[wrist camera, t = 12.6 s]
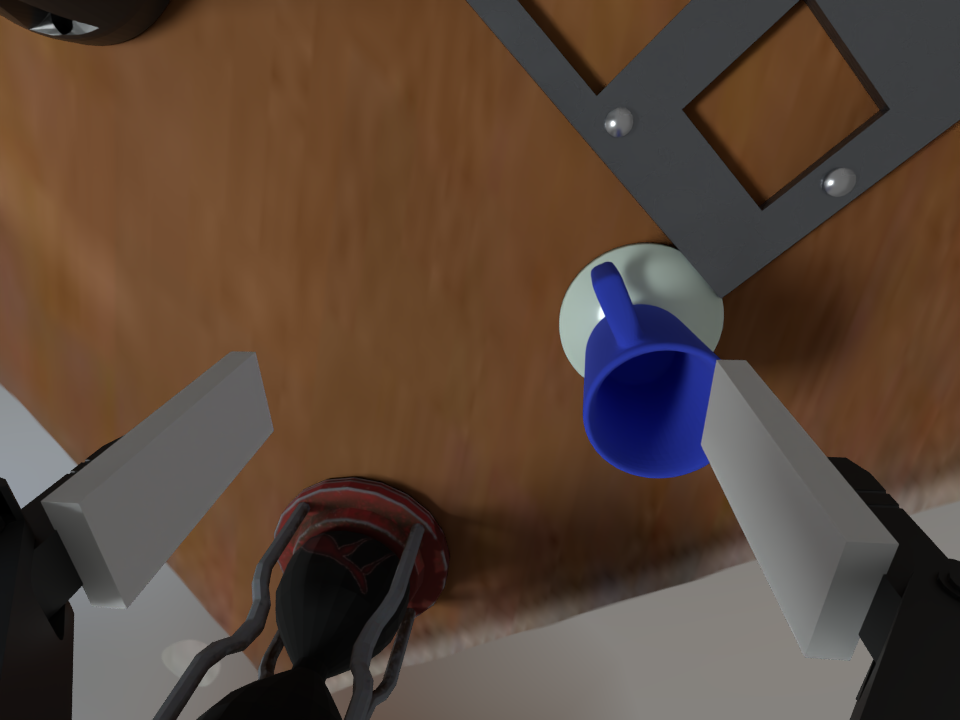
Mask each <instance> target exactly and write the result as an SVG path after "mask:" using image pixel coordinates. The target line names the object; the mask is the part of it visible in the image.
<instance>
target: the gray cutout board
mask: <svg viewBox="0 0 960 720" xmlns="http://www.w3.org/2000/svg"><path fill="white" fill-rule="evenodd" d="M466 1H467V3H468V4H469V5H470V6H471V7H472V8H473V10H474V11H475V12H476V13H477V14H478V15H479V17H480V18H481V19H482V20H483V21H484V22H485V24H486V25H487V26H488V27H489V28H490V30H491V31H492V32H493V33H494V34H495V35H496V37H497V38H498V39H499V40H500V41H501V42H502V44H503V45H504V46H505V47H506V48H507V49H508V51H509V52H510V53H511V54H512V55H513V56H514V58H515V59H516V60H517V61H518V62H519V64H520V65H521V66H522V67H523V68H524V69H525V71H526V72H527V73H528V74H529V75H530V76H531V78H532V79H533V80H534V81H535V82H536V83H537V85H538V86H539V87H540V88H541V89H542V90H543V92H544V93H545V94H546V95H547V96H548V98H549V99H550V100H551V101H552V102H553V103H554V105H555V106H556V107H557V108H558V109H559V110H560V112H561V113H562V114H563V115H564V116H565V117H566V119H567V120H568V121H569V122H570V123H571V125H572V126H573V127H574V128H575V129H576V130H577V132H578V133H579V134H580V135H581V136H582V137H583V139H584V140H585V141H586V142H587V143H588V144H589V146H590V147H591V148H592V149H593V150H594V151H595V153H596V154H597V155H598V156H599V157H600V159H601V160H602V161H603V162H604V163H605V164H606V166H607V167H608V168H609V169H610V170H611V171H612V173H613V174H614V175H615V176H616V177H617V178H618V180H619V181H620V182H621V183H622V184H623V186H624V187H625V188H626V189H627V190H628V191H629V193H630V194H631V195H632V196H633V197H634V198H635V200H636V201H637V202H638V203H639V204H640V205H641V207H642V208H643V209H644V210H645V211H646V212H647V214H648V215H649V216H650V217H651V218H652V220H653V221H654V222H655V223H656V224H657V225H658V227H659V228H660V229H661V230H662V231H663V232H664V234H665V235H666V236H667V237H668V238H669V239H670V241H671V242H672V243H673V244H674V245H675V246H676V248H677V249H678V250H679V251H680V252H681V253H682V254H683V255H684V256H685V257H686V259H687V260H688V261H689V262H690V263H691V265H692V266H693V267H694V268H695V269H696V270H697V272H698V273H699V274H700V275H701V276H702V277H703V279H704V280H705V281H706V282H707V283H708V284H709V286H710V287H711V288H712V289H713V290H714V292H715V293H716V294H717V295H718V296H719V297H720V298H723V297H724V296H725V295H727V294H728V293H729V292H731V291H732V290H733V289H735V288H736V287H737V286H739V285H740V284H741V283H743V282H744V281H745V280H747V279H748V278H749V277H751V276H752V275H753V274H755V273H756V272H757V271H759V270H760V269H761V268H763V267H764V266H765V265H767V264H768V263H769V262H771V261H772V260H773V259H775V258H776V257H777V256H779V255H780V254H781V253H783V252H784V251H785V250H787V249H788V248H789V247H791V246H792V245H793V244H795V243H796V242H797V241H799V240H800V239H801V238H803V237H804V236H805V235H807V234H808V233H809V232H811V231H812V230H813V229H815V228H816V227H817V226H819V225H820V224H821V223H823V222H824V221H825V220H827V219H828V218H829V217H831V216H832V215H833V214H835V213H836V212H837V211H839V210H840V209H841V208H843V207H844V206H845V205H847V204H848V203H849V202H851V201H852V200H853V199H855V198H856V197H857V196H859V195H860V194H861V193H863V192H864V191H865V190H867V189H868V188H869V187H871V186H872V185H873V184H875V183H876V182H877V181H879V180H880V179H881V178H883V177H884V176H885V175H887V174H888V173H889V172H891V171H892V170H893V169H895V168H896V167H897V166H899V165H900V164H901V163H903V162H904V161H905V160H907V159H908V158H909V157H911V156H912V155H913V154H915V153H916V152H917V151H919V150H920V149H921V148H923V147H924V146H925V145H927V144H928V143H929V142H930V141H932V140H933V139H934V138H936V137H937V136H938V135H940V134H941V133H942V132H944V131H945V130H946V129H948V128H949V127H950V126H952V125H953V124H954V123H956V122H957V121H958V120H960V0H804V1H805V3H806V4H807V5H808V7H809V8H810V10H811V11H812V13H813V14H814V16H815V17H816V18H817V20H818V21H819V23H820V24H821V26H822V27H823V29H824V30H825V31H826V33H827V34H828V36H829V37H830V39H831V40H832V42H833V43H834V44H835V46H836V47H837V49H838V50H839V52H840V53H841V55H842V56H843V57H844V59H845V60H846V62H847V63H848V65H849V66H850V68H851V69H852V70H853V72H854V73H855V75H856V76H857V78H858V79H859V81H860V82H861V83H862V85H863V86H864V88H865V89H866V91H867V92H868V94H869V95H870V96H871V98H872V99H873V101H874V102H875V104H876V105H877V107H878V108H879V109H880V111H878V112H877V113H876V114H875V115H873V116H872V117H871V118H870V119H868V120H867V121H866V122H865V123H863V124H862V125H861V126H860V127H858V128H857V129H856V130H855V131H853V132H852V133H851V134H850V135H848V136H847V137H846V138H845V139H843V140H842V141H841V142H840V143H838V144H837V145H836V146H835V147H833V148H832V149H831V150H830V151H828V152H827V153H826V154H825V155H823V156H822V157H821V158H820V159H818V160H817V161H816V162H815V163H813V164H812V165H811V166H810V167H808V168H807V169H806V170H805V171H803V172H802V173H801V174H800V175H798V176H797V177H796V178H795V179H793V180H792V181H791V182H790V183H788V184H787V185H786V186H785V187H783V188H782V189H781V190H780V191H778V192H777V193H776V194H775V195H773V196H772V197H771V198H770V199H768V200H767V201H766V202H765V203H763V204H762V205H761V206H760V207H758V205H757V204H756V203H755V202H754V200H753V199H752V198H751V197H750V195H749V194H748V193H747V192H746V190H745V189H744V188H743V186H742V185H741V184H740V183H739V181H738V180H737V179H736V178H735V176H734V175H733V174H732V173H731V171H730V170H729V169H728V168H727V166H726V165H725V164H724V162H723V161H722V160H721V159H720V157H719V156H718V155H717V154H716V152H715V151H714V150H713V149H712V147H711V146H710V145H709V144H708V142H707V141H706V140H705V138H704V137H703V136H702V135H701V133H700V132H699V131H698V130H697V128H696V127H695V126H694V125H693V123H692V122H691V121H690V119H689V118H688V117H687V116H686V114H685V113H684V112H683V111H682V109H683V108H684V107H685V106H686V105H687V104H688V103H689V102H690V101H691V100H692V99H694V98H695V97H696V96H697V95H698V94H699V93H700V92H701V91H702V90H703V89H704V88H705V87H706V86H708V85H709V84H710V83H711V82H712V81H713V80H714V79H715V78H716V77H717V76H718V75H719V74H720V73H722V72H723V71H724V70H725V69H726V68H727V67H728V66H729V65H730V64H731V63H732V62H733V61H734V60H736V59H737V58H738V57H739V56H740V55H741V54H742V53H743V52H744V51H745V50H746V49H747V48H748V47H750V46H751V45H752V44H753V43H754V42H755V41H756V40H757V39H758V38H759V37H760V36H761V35H762V34H764V33H765V32H766V31H767V30H768V29H769V28H770V27H771V26H772V25H773V24H774V23H775V22H776V21H778V20H779V19H780V18H781V17H782V16H783V15H784V14H785V13H786V12H787V11H788V10H789V9H790V8H792V7H793V6H794V5H795V4H796V3H797V2H798V1H799V0H691V1H690V2H689V3H688V4H687V5H686V6H685V7H684V8H683V9H682V10H681V11H680V12H679V13H678V14H677V15H676V16H675V17H674V18H673V19H672V20H671V21H670V22H669V23H668V24H667V25H666V26H665V27H664V29H663V30H662V31H661V32H660V33H659V34H658V35H657V36H656V37H655V38H654V39H653V40H652V41H651V42H650V43H649V44H648V45H647V46H646V47H645V48H644V49H643V50H642V51H641V52H640V53H639V54H638V55H637V56H636V57H635V58H634V59H633V60H632V61H631V62H630V63H629V64H628V65H627V66H626V67H625V68H624V69H623V70H622V71H621V72H620V73H619V74H618V75H617V76H616V77H615V78H614V79H613V80H612V81H611V82H610V83H609V84H608V85H607V86H606V87H605V88H604V89H603V90H602V91H601V92H600V93H599V94H598V95H597V96H596V95H595V94H594V92H593V91H592V90H591V89H590V88H589V86H588V85H587V84H586V83H585V82H584V80H583V79H582V78H581V77H580V76H579V74H578V73H577V72H576V71H575V69H574V68H573V67H572V66H571V65H570V63H569V62H568V61H567V60H566V59H565V57H564V56H563V55H562V54H561V53H560V51H559V50H558V49H557V48H556V47H555V45H554V44H553V43H552V42H551V40H550V39H549V38H548V37H547V36H546V34H545V33H544V32H543V31H542V30H541V28H540V27H539V26H538V25H537V24H536V22H535V21H534V20H533V19H532V18H531V16H530V15H529V14H528V13H527V12H526V10H525V9H524V8H523V7H522V5H521V4H520V3H519V2H518V1H517V0H466Z"/></svg>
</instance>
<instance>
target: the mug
mask: <svg viewBox="0 0 960 720" xmlns="http://www.w3.org/2000/svg"><path fill="white" fill-rule="evenodd" d="M591 280H592V286H593V289H594V291H595V294H596V296H597V299H598V301H599V304H600V306H601V308H602V310H603V313H604V315H605V317H604V318H603V319H602V320H600V321H599V323H598V324H597V325H596V326H595V328H594V329H593V331H592V333H591V334H590V337H589V339H588V342H587V346H586V352H585V374H584V400H583V421H584V427H585V430H586V433H587V436H588V438H589V440H590V442H591V444H592V445H593V447H594V448H595V450H596V451H597V452H598V453H599V454H600V455H601V456H602V457H603V458H604V459H605V460H606V461H607V462H609V463H610V464H611V465H613V466H614V467H616V468H618V469H620V470H622V471H624V472H627V473H630V474H633V475H636V476H641V477H647V478H669V477H676V476H681V475H685V474H688V473H691V472H693V471H696V470H698V469H700V468H702V467H704V466H706V465H707V464H709V463H710V462H709V460H708V458H707V456H706V454H705V452H704V450H703V448H702V446H701V441H702V436H703V430H704V425H705V419H706V414H707V409H708V403H709V398H710V392H711V387H712V381H713V376H714V371H715V365H716V360H721V359H720V358H719V357H718V356H717V355H716V354H715V353H714V352H713V351H712V350H711V349H709V348H708V347H707V346H706V345H705V344H704V343H703V342H702V341H701V340H700V339H699V338H698V337H697V336H696V335H695V334H694V333H693V332H692V331H691V330H690V329H689V328H688V327H686V326H685V325H684V324H683V323H682V322H681V321H680V320H679V319H678V318H677V317H676V316H674V315H673V314H672V313H670V312H668V311H667V310H664V309H662V308H660V307H657V306H652V305H646V304H636V305H633V304H632V301H631V299H630V296H629V294H628V291H627V288H626V286H625V284H624V281H623V279H622V277H621V274H620V273H619V271H618V270H617V268H616V266H615V265H614V264H613V263H612V262H604V263H601V264H599V265H597V266H595V267H594V268H593V269H592V270H591Z"/></svg>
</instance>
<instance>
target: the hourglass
mask: <svg viewBox="0 0 960 720" xmlns="http://www.w3.org/2000/svg"><path fill="white" fill-rule="evenodd" d="M449 559H450V554H449V550H448V546H447V542H446V539H445V535H444V533H443V531H442V530H441V528H440V527H439V525H438V524H437V522H436V521H435V519H434V518H433V516H432V515H431V514H430V512H429V511H427V510H426V509H425V508H424V507H423V506H421V505H420V504H419V503H418V502H416V501H415V500H414V499H413V498H412V497H410V496H409V495H408V494H405V493H403V492H401V491H399V490H397V489H395V488H392V487H390V486H388V485H386V484H384V483H381V482H376V481H370V480H365V479H359V478H354V477H352V478H341V479H330V480H325V481H322V482H320V483H318V484H315V485H313V486H311V487H308V488H306V489H304V490H303V491H302V492H301V493H300V494H299V495H298V496H297V497H296V498H295V499H294V500H293V501H292V502H291V503H290V504H289V505H288V506H287V507H286V509H285V510H284V512H283V513H282V515H281V517H280V520H279V522H278V525H277V528H276V530H275V533H274V541H273V542H272V544H271V545H270V547H269V548H268V550H267V551H266V553H265V554H264V556H263V557H262V558H261V560H260V561H259V563H258V565H257V566H256V570H255V574H254V577H253V581H252V598H253V604H252V606H251V609H250V611H249V614H248V616H247V619H246V621H245V622H244V623H243V624H242V626H241V627H240V628H239V629H238V630H237V631H236V632H235V633H234V634H233V635H232V636H230V637H227V638H224V639H221V640H218V641H216V642H212V643H211V644H210V645H208V646H207V647H206V648H205V649H203V650H202V651H201V652H199V653H198V654H197V655H196V656H195V657H194V659H193V660H192V662H191V663H190V665H189V666H188V668H187V669H186V671H185V672H184V674H183V675H182V677H181V678H180V680H179V681H178V683H177V684H176V686H175V687H174V689H173V690H172V692H171V693H170V695H169V696H168V697H167V699H166V700H165V702H164V703H163V705H162V706H161V708H160V709H159V711H158V712H157V714H156V715H155V717H154V718H153V720H176V719H177V717H178V716H179V714H180V713H181V711H182V710H183V708H184V707H185V705H186V704H187V702H188V700H189V699H190V697H191V696H192V694H193V693H194V691H195V689H196V688H197V686H198V685H199V683H200V682H201V680H202V678H203V677H204V675H205V674H206V672H207V671H208V669H209V668H211V667H212V666H213V665H215V664H216V663H217V662H218V661H220V660H221V659H222V658H224V657H225V656H226V655H229V654H233V653H237V652H240V651H244V650H245V649H246V648H247V647H248V646H249V645H250V644H251V643H252V642H253V641H254V640H255V639H256V638H257V637H258V636H259V635H260V634H261V632H262V631H263V629H264V626H265V623H266V620H267V616H268V613H269V609H270V606H271V603H270V594H269V583H270V577H271V572H272V568H273V567H274V565H275V564H276V562H277V561H278V563H279V565H280V567H281V570H282V572H283V576H282V579H281V581H280V584H279V586H278V588H277V591H276V622H277V626H278V631H277V632H276V634H275V636H274V638H273V640H272V642H271V643H270V645H269V647H268V649H267V651H266V652H265V654H264V656H263V658H262V661H261V663H260V666H259V669H258V678H259V679H258V680H257V681H254V682H252V683H250V684H248V685H245V686H243V687H241V688H239V689H237V690H234V691H232V692H231V693H229V694H228V695H227V696H225V697H224V698H223V699H222V700H220V701H219V702H218V703H216V704H215V705H214V706H212V707H211V708H210V709H209V710H207V711H206V712H205V713H204V714H202V715H201V716H200V717H199V718H198V719H197V720H342V718H341V716H340V713H339V711H338V709H337V707H336V705H335V703H334V700H333V698H332V696H331V694H330V692H329V690H328V688H327V686H326V684H325V681H326V679H327V678H330V677H333V676H336V675H338V674H341V673H344V672H346V671H349V670H351V672H352V674H353V677H354V679H353V695H352V699H351V701H350V704H349V707H348V710H347V712H346V715H345V718H344V720H369V719H370V717H371V715H372V713H373V711H374V709H375V707H376V706H377V705H378V704H380V703H381V702H383V701H385V700H386V699H387V698H388V697H389V695H390V694H391V692H392V691H393V689H394V687H395V686H396V683H397V680H398V676H399V672H400V669H401V665H402V662H403V658H404V654H405V651H406V647H407V643H408V640H409V636H410V633H411V629H412V625H413V622H414V618H415V617H417V616H419V615H420V614H421V613H423V612H424V611H426V610H427V609H428V608H430V607H431V606H433V605H434V603H435V602H436V600H437V599H438V597H439V595H440V594H441V592H442V591H443V589H444V587H445V583H446V579H447V573H448V566H449ZM397 631H398V632H397ZM396 632H397V635H396V638H395V642H394V645H393V648H392V651H391V655H390V658H389V661H388V664H387V668H386V671H385V674H384V678H383V681H382V682H381V683H380V685H379V686H378V687H377V689H376V690H374V691H373V678H372V675H371V673H370V671H369V666H370V662H371V659H372V658H373V657H375V656H376V655H377V654H379V653H380V652H381V651H382V650H383V649H384V648H385V647H386V646H387V645H388V644H389V643H390V642H391V641H392V639H393V637H394V636H395V634H396ZM283 646H285V648H286V651H287V653H288V655H289V657H290V660H291V662H292V664H293V667H292V669H291V670H288V671H285V672H281V673H278V674H275V675H274V669H275V665H276V661H277V658H278V656H279V654H280V652H281V650H282V648H283Z"/></svg>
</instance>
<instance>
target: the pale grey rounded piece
mask: <svg viewBox="0 0 960 720" xmlns="http://www.w3.org/2000/svg"><path fill="white" fill-rule="evenodd" d="M604 262H612V263H613V264H614V265H615V266H616V268H617V270H618V271H619V273H620V274H621V277H622V279H623V281H624V284H625V286H626V288H627V291H628V294H629V296H630V299H631V301H632V304H633V305H636V304H646V305H652V306H657V307H660V308H662V309H664V310H667V311H668V312H670V313H672V314H673V315H674V316H676V317H677V318H678V319H679V320H680V321H681V322H682V323H683V324H684V325H685V326H686V327H688V328H689V329H690V330H691V331H692V332H693V333H694V334H695V335H696V336H697V337H698V338H699V339H700V340H701V341H702V342H703V343H704V344H705V345H706V346H707V347H708V348H709V349H711V350H712V351H714V350H715V348H716V346H717V344H718V341H719V339H720V336H721V332H722V329H723V321H724V307H723V301H722V298H720V297H719V296H718V295H717V294H716V293H715V292H714V290H713V289H712V288H711V287H710V286H709V284H708V283H707V282H706V281H705V280H704V279H703V277H702V276H701V275H700V274H699V273H698V272H697V270H696V269H695V268H694V267H693V266H692V265H691V263H690V262H689V261H688V260H687V259H686V257H685V256H684V255H683V254H682V253H681V252H680V251H679V250H678V249H677V248H674V247H671V246H668V245H663V244H659V243H634V244H628V245H624V246H620V247H617V248H614V249H612V250H609V251H607V252H605V253H603V254H601V255H600V256H598V257H596V258H595V259H593V260H592V261H591V262H590V263H588V264H587V265H586V266H585V267H584V268H583V269H582V270H581V271H580V272H579V273H578V274H577V276H576V277H575V278H574V279H573V281H572V282H571V284H570V286H569V287H568V289H567V291H566V293H565V296H564V298H563V301H562V305H561V309H560V316H559V330H560V337H561V342H562V346H563V349H564V351H565V354H566V356H567V358H568V359H569V361H570V363H571V364H572V366H573V367H574V368H575V369H576V370H577V372H578V373H579V374H580V375H582V376H583V377H584V374H585V352H586V346H587V342H588V339H589V337H590V334H591V333H592V331H593V329H594V328H595V326H596V325H597V324H598V323H599V321H600V320H602V319H603V318H604V317H605V315H604V313H603V310H602V308H601V306H600V304H599V301H598V299H597V296H596V294H595V291H594V289H593V286H592V280H591V270H592V269H593V268H594V267H595V266H597V265H599V264H601V263H604Z"/></svg>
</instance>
